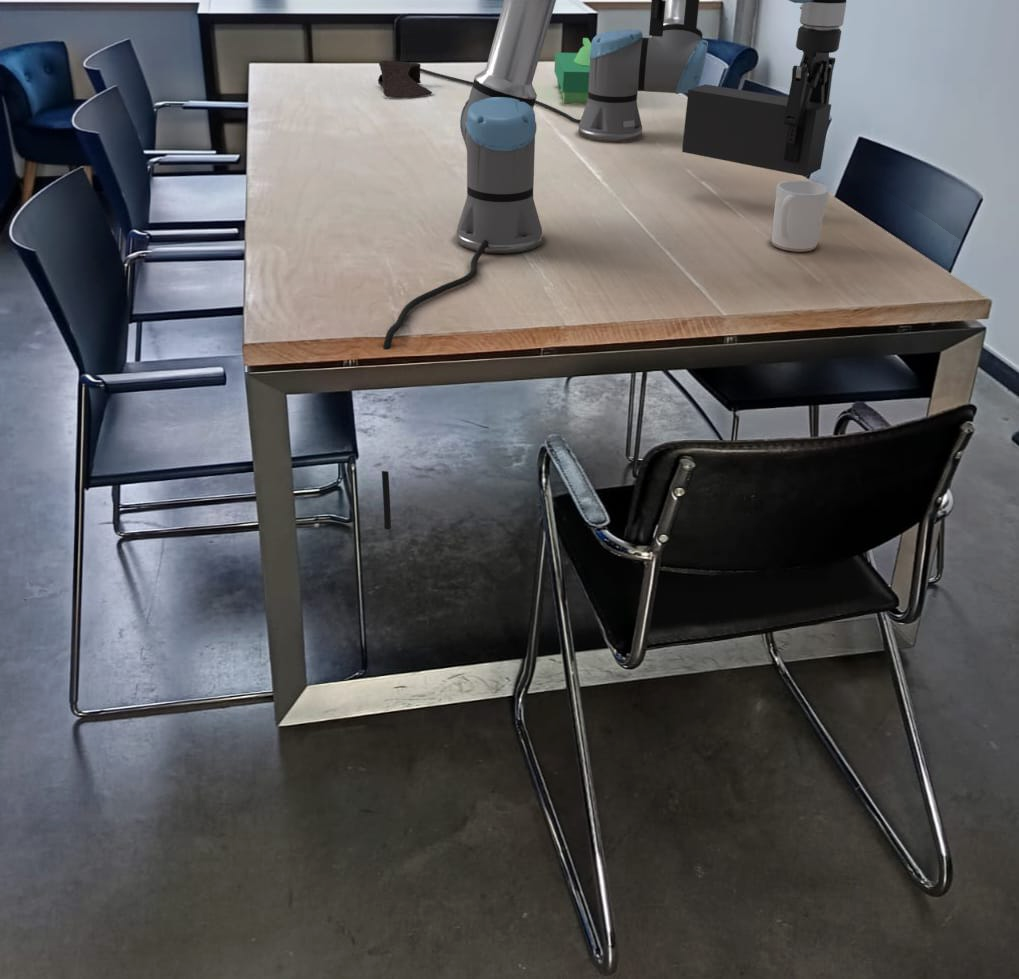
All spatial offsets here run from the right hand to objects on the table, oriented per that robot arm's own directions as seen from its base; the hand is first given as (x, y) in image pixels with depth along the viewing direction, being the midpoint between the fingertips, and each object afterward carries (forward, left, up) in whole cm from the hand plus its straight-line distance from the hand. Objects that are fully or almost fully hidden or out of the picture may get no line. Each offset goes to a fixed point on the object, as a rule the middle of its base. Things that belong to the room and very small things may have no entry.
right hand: (673, 32), depth 224 cm
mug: (+53, +2, -28) cm, 60 cm away
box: (+27, +6, -19) cm, 34 cm away
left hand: (+35, +12, -17) cm, 41 cm away
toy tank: (-77, +12, -28) cm, 83 cm away
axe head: (-89, -38, -28) cm, 100 cm away
